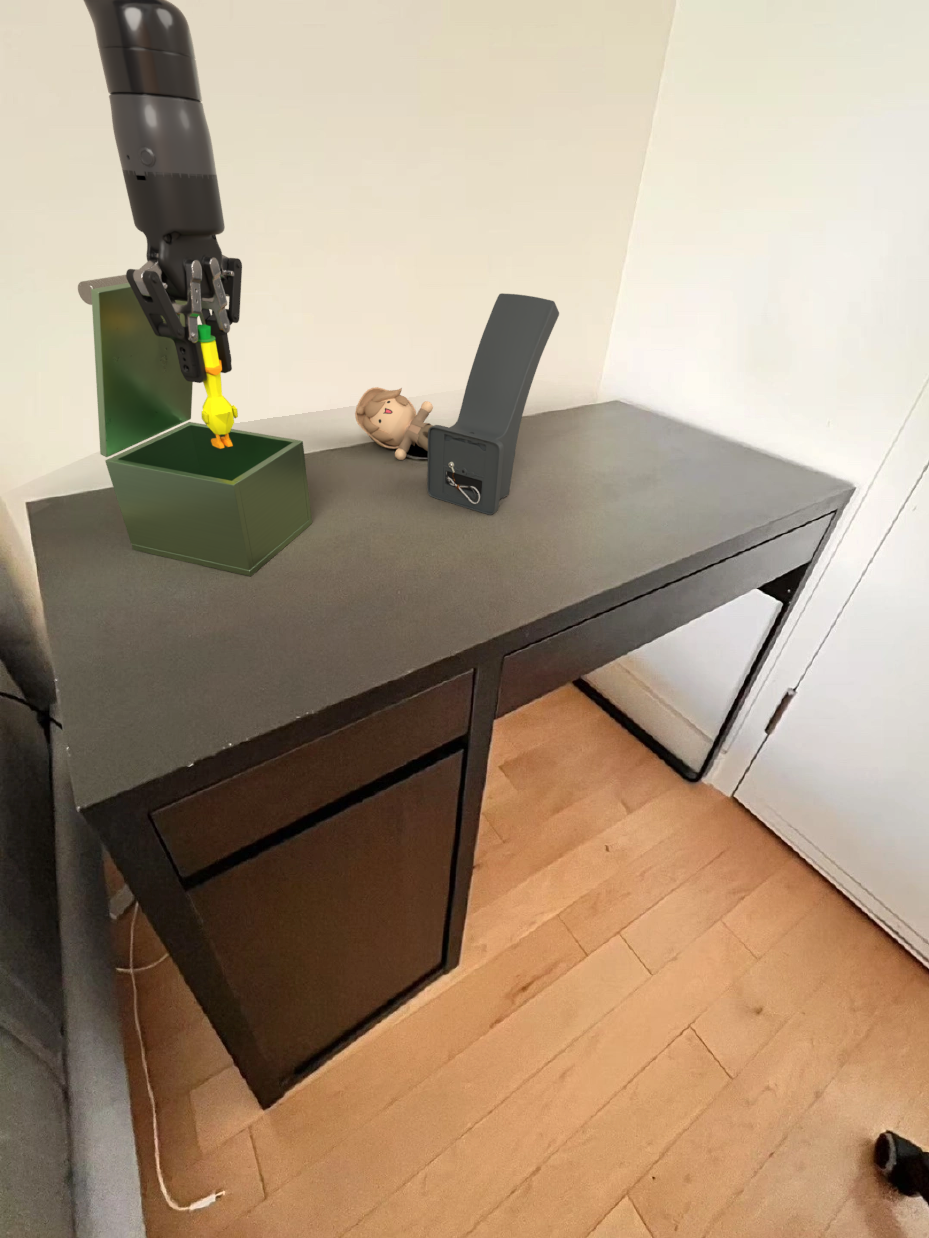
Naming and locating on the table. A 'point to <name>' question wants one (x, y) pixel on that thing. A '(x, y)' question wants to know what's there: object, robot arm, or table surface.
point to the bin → (213, 496)
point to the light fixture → (491, 407)
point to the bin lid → (132, 368)
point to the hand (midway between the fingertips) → (208, 375)
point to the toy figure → (215, 392)
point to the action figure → (393, 420)
